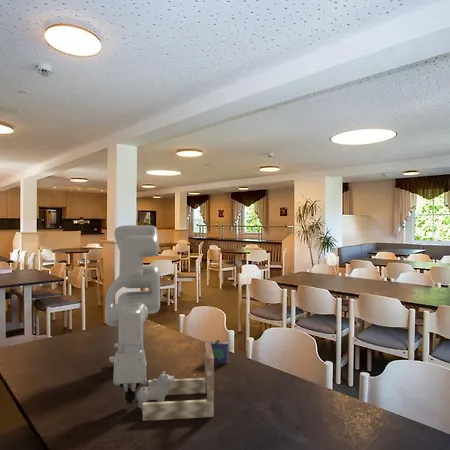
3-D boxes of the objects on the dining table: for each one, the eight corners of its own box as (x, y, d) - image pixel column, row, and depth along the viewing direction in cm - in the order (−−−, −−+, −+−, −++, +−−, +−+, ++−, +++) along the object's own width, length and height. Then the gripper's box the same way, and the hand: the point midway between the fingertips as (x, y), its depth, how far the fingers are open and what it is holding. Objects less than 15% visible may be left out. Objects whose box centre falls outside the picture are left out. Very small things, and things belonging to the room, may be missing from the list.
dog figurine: (176, 404, 116) (177, 373, 116) (139, 415, 110) (139, 382, 109) (170, 397, 121) (170, 367, 121) (134, 407, 114) (134, 375, 114)
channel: (142, 420, 107) (142, 360, 107) (148, 394, 123) (148, 342, 123) (213, 416, 109) (213, 358, 109) (210, 391, 125) (210, 340, 125)
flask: (228, 361, 152) (228, 337, 152) (228, 364, 149) (228, 340, 149) (207, 361, 152) (207, 337, 152) (207, 364, 149) (207, 339, 149)
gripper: (104, 351, 110) (104, 408, 110) (152, 349, 111) (151, 406, 111) (110, 343, 117) (109, 396, 117) (154, 341, 118) (154, 395, 119)
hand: (130, 401), depth 114 cm, fingers closed
